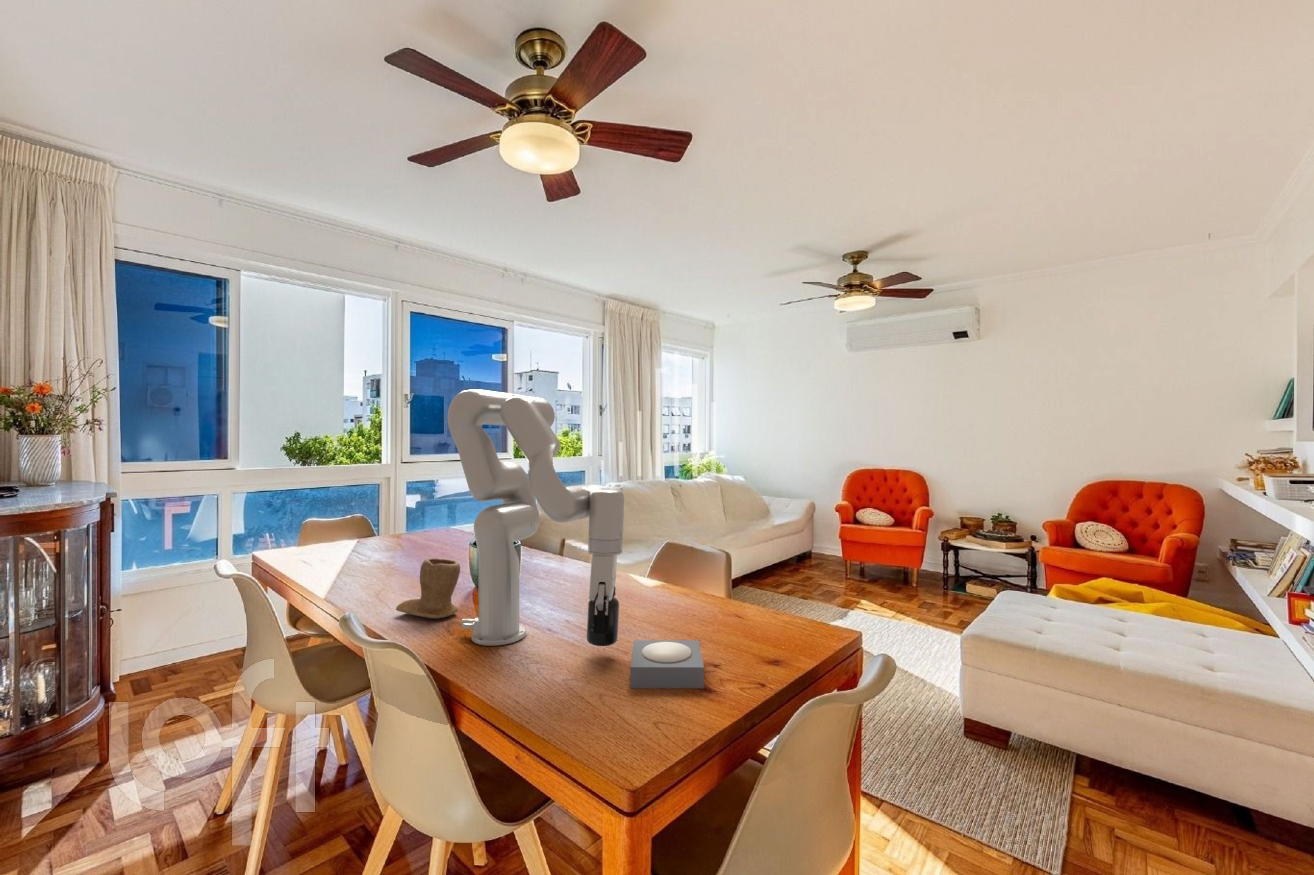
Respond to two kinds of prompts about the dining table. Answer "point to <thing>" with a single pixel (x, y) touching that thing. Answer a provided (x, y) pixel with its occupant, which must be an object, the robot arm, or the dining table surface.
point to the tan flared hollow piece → (434, 590)
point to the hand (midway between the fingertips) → (602, 625)
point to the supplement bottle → (613, 613)
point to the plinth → (667, 664)
